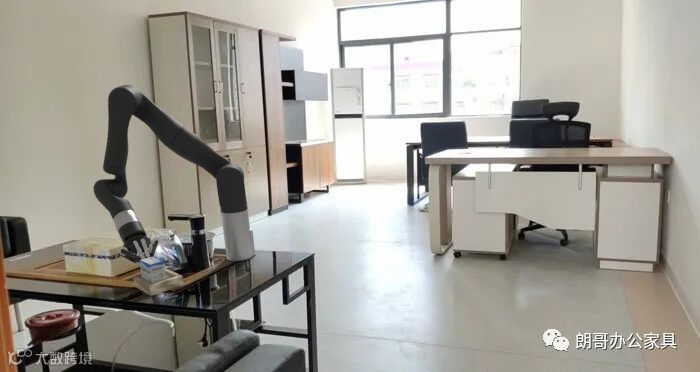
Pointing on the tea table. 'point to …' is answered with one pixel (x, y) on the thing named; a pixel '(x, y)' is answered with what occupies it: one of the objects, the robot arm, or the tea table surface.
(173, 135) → the robot arm
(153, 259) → the medicine box
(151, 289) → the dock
